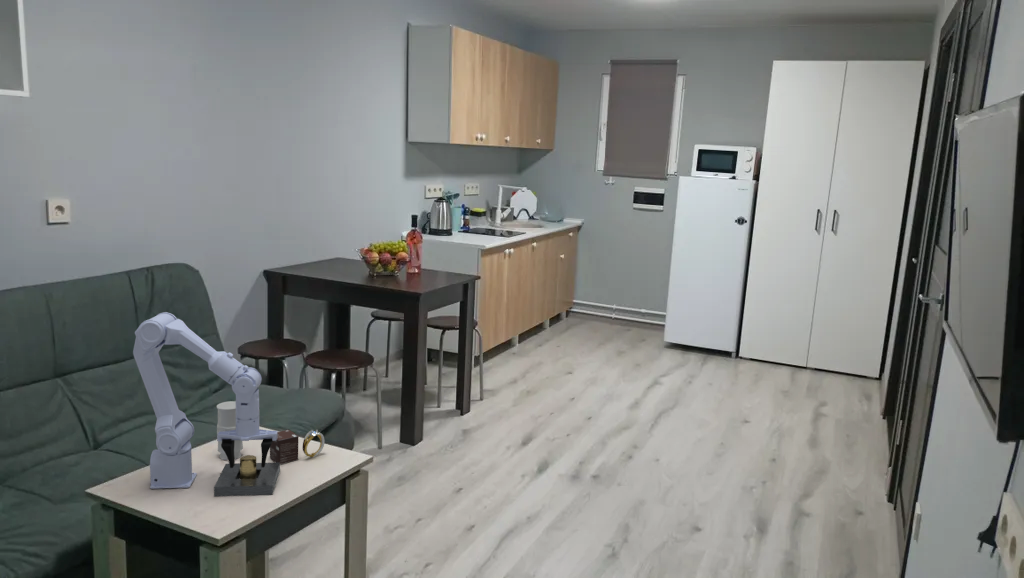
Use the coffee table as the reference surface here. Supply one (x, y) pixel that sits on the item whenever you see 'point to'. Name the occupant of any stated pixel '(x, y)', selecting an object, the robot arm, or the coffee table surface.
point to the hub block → (247, 481)
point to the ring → (306, 442)
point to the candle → (228, 426)
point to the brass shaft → (248, 467)
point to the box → (285, 447)
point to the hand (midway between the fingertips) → (248, 466)
